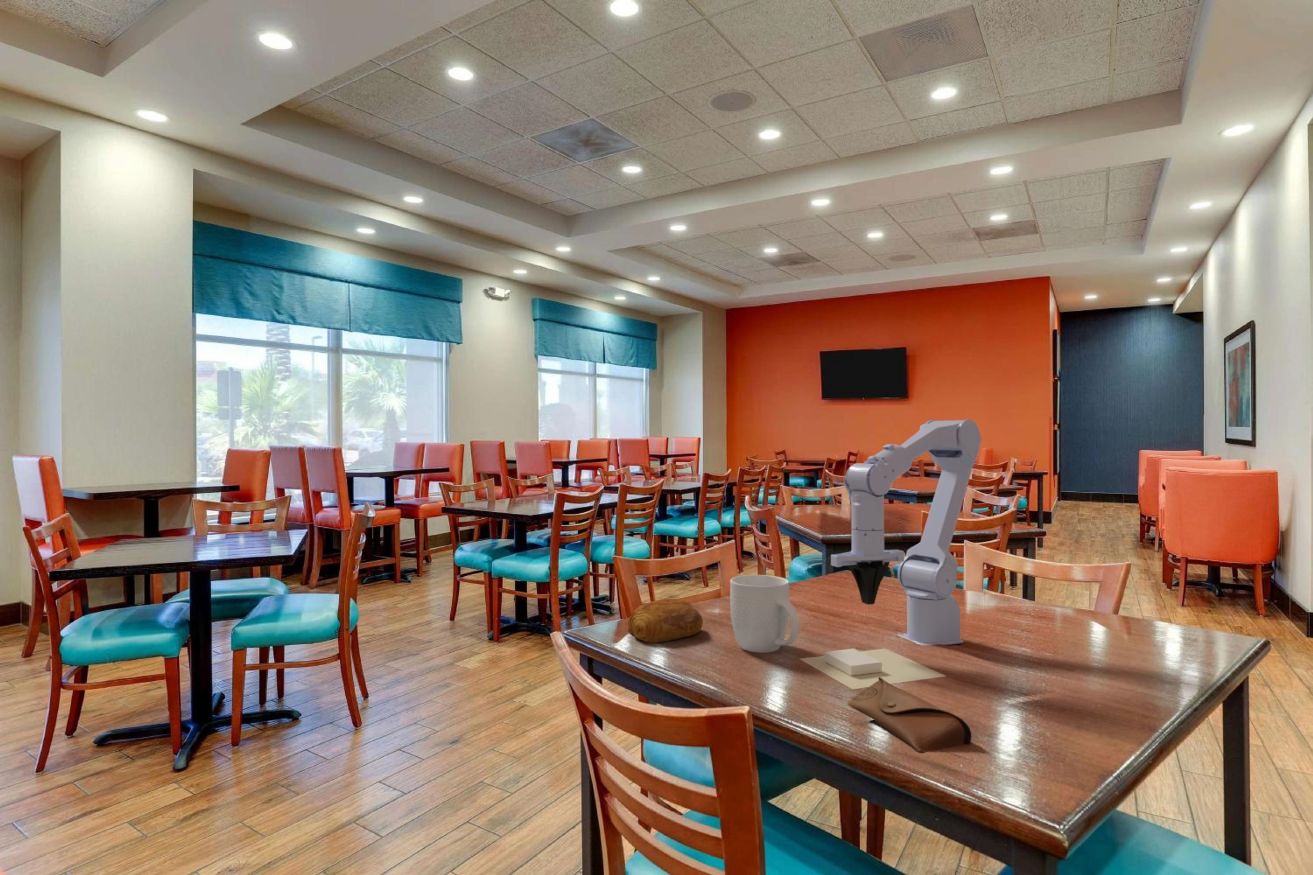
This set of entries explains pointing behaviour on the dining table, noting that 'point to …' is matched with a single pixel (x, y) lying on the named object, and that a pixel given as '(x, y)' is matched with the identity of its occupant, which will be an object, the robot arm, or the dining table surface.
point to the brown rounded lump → (664, 620)
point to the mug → (762, 612)
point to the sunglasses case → (911, 718)
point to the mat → (892, 672)
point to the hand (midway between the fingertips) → (868, 603)
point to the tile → (852, 662)
